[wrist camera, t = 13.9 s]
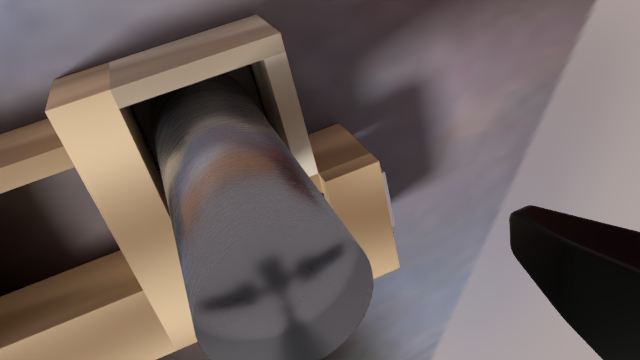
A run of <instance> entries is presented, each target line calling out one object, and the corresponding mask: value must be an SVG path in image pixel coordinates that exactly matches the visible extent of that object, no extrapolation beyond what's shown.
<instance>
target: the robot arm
mask: <svg viewBox="0 0 640 360" xmlns="http://www.w3.org/2000/svg"><path fill="white" fill-rule="evenodd" d="M509 222H510V244H511V249H512V252H513V254H514V256H515V257H516V259H517V260H518V261H519V262H520V264H521V265H522V266H523V268H524V269H525V270H526V271H527V273H528V274H529V275H530V276H531V278H532V279H533V280H534V282H535V283H536V284H537V286H538V287H539V288H540V289H541V291H542V292H543V293H544V295H545V296H546V297H547V298H548V300H549V301H550V302H551V304H552V305H553V306H554V307H555V309H556V310H557V311H558V312H559V313H560V314H561V316H562V317H563V318H564V319H565V320H566V321H567V323H569V325H570V326H571V327H572V328H573V329H574V330H575V331H576V332H577V333H578V334H579V335H580V336H581V337H582V338H583V339H584V340H585V341H586V342H587V344H588V345H589V346H590V347H591V348H592V349H593V350H594V351H595V352H596V353H597V354H598V355H599V356H600V357H601V358H602V359H603V360H640V232H637V231H633V230H629V229H625V228H621V227H617V226H613V225H609V224H605V223H601V222H597V221H593V220H589V219H585V218H581V217H577V216H573V215H569V214H565V213H560V212H557V211H553V210H548V209H544V208H541V207H537V206H531V205H530V206H526V207H523V208H521V209H519V210H516V211H514V212H513V213H511V215H510V219H509Z"/></svg>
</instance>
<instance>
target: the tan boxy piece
mask: <svg viewBox="0 0 640 360" xmlns="http://www.w3.org/2000/svg"><path fill="white" fill-rule="evenodd" d="M249 64H251V67H252V71H253V74H254V77H255V80H256V83H257V87H258V90H259V93H260V96H261V100H262V103H263V106H264V109H265V113H266V116H267V119H268V122H269V123H270V125H271V126H272V127H273V129H274V130H275V131H276V133H277V134H278V135H279V137H280V138H281V139H282V141H283V142H284V144H285V145H286V146H287V148H288V149H289V150H290V152H291V153H292V154H293V156H294V157H295V158H296V160H297V161H298V163H299V164H300V165H301V167H302V168H303V169H304V171H305V172H306V173H307V175H308V176H309V177H310V176H313V175H315V174H318V171H317V167H316V163H315V159H314V156H313V152H312V148H311V144H310V141H309V137H308V133H307V130H306V126H305V122H304V118H303V115H302V111H301V107H300V104H299V100H298V96H297V92H296V89H295V85H294V81H293V78H292V74H291V70H290V66H289V63H288V59H287V55H286V52H285V48H284V44H283V40H282V37H281V33H280V32H279V31H278V30H276V29H275V28H274V27H272V26H271V25H270V24H268V23H267V22H266V21H264V20H263V19H262V18H261V17H259V16H258V15H257V14H256V15H253V16H250V17H247V18H243V19H240V20H237V21H234V22H231V23H228V24H225V25H222V26H219V27H216V28H213V29H210V30H207V31H203V32H200V33H197V34H194V35H191V36H188V37H185V38H182V39H179V40H176V41H173V42H170V43H167V44H163V45H160V46H157V47H154V48H151V49H148V50H145V51H142V52H139V53H136V54H133V55H130V56H127V57H123V58H120V59H117V60H114V61H111V62H109V75H110V91H111V93H112V95H113V97H114V100H115V102H116V104H117V106H118V108H119V109H120V108H123V107H126V106H129V105H132V107H133V110H134V112H135V114H136V116H137V118H138V121H139V123H140V125H141V127H142V129H143V132H144V134H145V136H146V138H147V141H148V143H149V145H150V147H151V149H152V152H153V154H154V156H155V158H156V160H157V163H158V165H159V162H158V157H157V152H156V148H155V143H154V138H153V133H152V129H151V124H150V111H151V106H152V103H153V100H154V98H155V96H158V95H161V94H164V93H167V92H170V91H173V90H176V89H179V88H182V87H185V86H188V85H191V84H193V83H196V82H199V81H202V80H205V79H208V78H211V77H214V76H217V75H220V74H223V73H226V74H228V75H230V76H231V77H233V78H234V79H235V80H237V81H238V82H239V83H240V84H241V85H242V87H243V88H244V89H245V91H246V92H247V93H248V95H249V96H250V97H251V99H252V100H253V101H254V103H255V104H256V105H257V107H258V108H259V110H260V111H261V112H262V114H263V115H264V113H263V109H262V106H261V103H260V100H259V97H258V93H257V90H256V87H255V84H254V81H253V77H252V74H251V71H250V68H249ZM159 167H160V166H159Z"/></svg>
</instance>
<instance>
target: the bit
mask: <svg viewBox="0 0 640 360" xmlns="http://www.w3.org/2000/svg"><path fill="white" fill-rule="evenodd" d="M150 124H151V129H152V133H153V138H154V143H155V148H156V152H157V157H158V162H159V166H160V171H161V176H162V181H163V185H164V190H165V195H166V199H167V204H168V209H169V213H170V218H171V223H172V228H173V232H174V237H175V242H176V246H177V251H178V256H179V261H180V265H181V270H182V275H183V279H184V284H185V289H186V294H187V298H188V303H189V308H190V312H191V317H192V322H193V326H194V331H195V336H196V338H197V341H198V343H199V345H200V347H201V349H202V350H203V352H204V353H205V354H206V355H207V356H208V357H209V359H210V360H321V359H323V358H324V357H326V356H327V355H329V354H330V353H332V352H333V351H334V350H336V349H337V348H338V347H339V346H340V345H341V344H343V343H344V342H345V341H346V340H347V339H348V338H349V336H350V335H351V334H352V333H353V332H354V331H355V329H356V328H357V327H358V325H359V324H360V322H361V321H362V319H363V317H364V315H365V313H366V311H367V309H368V307H369V304H370V300H371V297H372V291H373V273H372V268H371V265H370V262H369V259H368V258H367V256H366V254H365V252H364V251H363V249H362V248H361V247H360V245H359V244H358V243H357V241H356V240H355V239H354V237H353V236H352V235H351V233H350V232H349V230H348V229H347V228H346V226H345V225H344V224H343V222H342V221H341V220H340V218H339V217H338V215H337V214H336V213H335V211H334V210H333V209H332V207H331V206H330V205H329V203H328V202H327V201H326V199H325V198H324V196H323V195H322V194H321V192H320V191H319V190H318V188H317V187H316V186H315V184H314V183H313V182H312V180H311V179H310V177H309V176H308V175H307V173H306V172H305V171H304V169H303V168H302V167H301V165H300V164H299V163H298V161H297V160H296V158H295V157H294V156H293V154H292V153H291V152H290V150H289V149H288V148H287V146H286V145H285V144H284V142H283V141H282V139H281V138H280V137H279V135H278V134H277V133H276V131H275V130H274V129H273V127H272V126H271V125H270V123H269V122H268V120H267V119H266V118H265V116H264V115H263V114H262V112H261V111H260V110H259V108H258V107H257V105H256V104H255V103H254V101H253V100H252V99H251V97H250V96H249V95H248V93H247V92H246V91H245V89H244V88H243V87H242V85H241V84H240V83H239V82H238V81H237V80H235V79H234V78H233V77H231V76H230V75H228V74H226V73H223V74H220V75H217V76H214V77H211V78H208V79H205V80H202V81H199V82H196V83H193V84H191V85H188V86H185V87H182V88H179V89H176V90H173V91H170V92H167V93H164V94H161V95H158V96H155V98H154V100H153V103H152V106H151V111H150Z"/></svg>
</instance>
